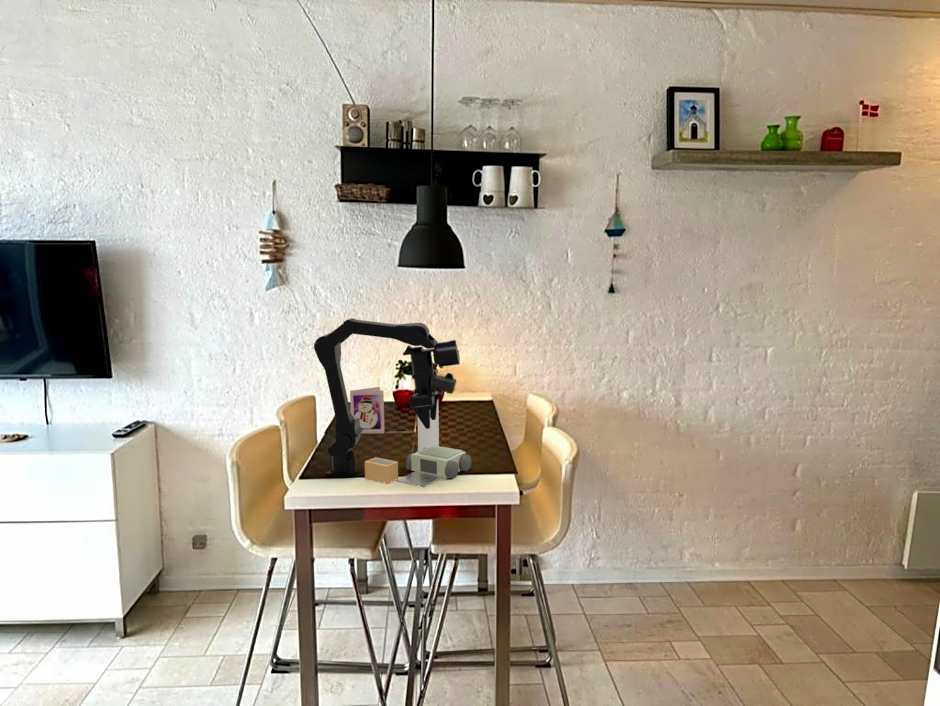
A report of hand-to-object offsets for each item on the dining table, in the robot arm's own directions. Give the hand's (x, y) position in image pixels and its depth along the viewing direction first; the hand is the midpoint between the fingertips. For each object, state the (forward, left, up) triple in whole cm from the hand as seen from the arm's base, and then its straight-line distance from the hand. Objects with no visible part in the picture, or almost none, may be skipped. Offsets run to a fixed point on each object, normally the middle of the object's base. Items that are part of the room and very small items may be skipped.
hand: (430, 424), depth 186 cm
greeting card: (-45, +27, -15) cm, 55 cm away
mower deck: (0, +4, -14) cm, 15 cm away
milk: (-12, +16, -15) cm, 25 cm away
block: (-10, -10, -15) cm, 20 cm away
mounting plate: (0, -5, -14) cm, 15 cm away
